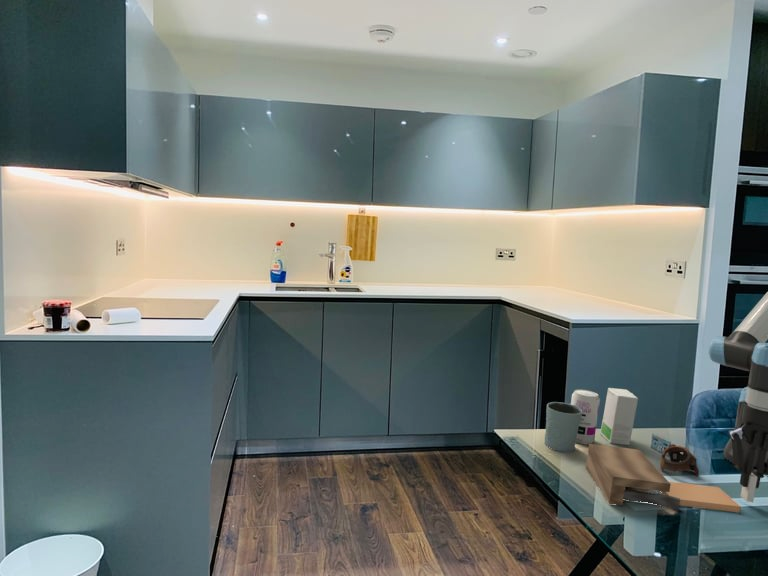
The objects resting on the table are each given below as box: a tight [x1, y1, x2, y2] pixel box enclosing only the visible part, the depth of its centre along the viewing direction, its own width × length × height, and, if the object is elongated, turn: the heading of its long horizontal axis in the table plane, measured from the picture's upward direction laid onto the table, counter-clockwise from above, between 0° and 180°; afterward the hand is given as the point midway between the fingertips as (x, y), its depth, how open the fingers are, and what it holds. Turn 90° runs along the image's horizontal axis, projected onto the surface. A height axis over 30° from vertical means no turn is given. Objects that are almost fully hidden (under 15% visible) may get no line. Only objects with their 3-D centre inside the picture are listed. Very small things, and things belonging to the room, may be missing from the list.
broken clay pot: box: [659, 443, 700, 477], centre depth 152 cm, size 12×10×8 cm
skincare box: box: [600, 387, 639, 446], centre depth 171 cm, size 8×7×16 cm
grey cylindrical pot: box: [544, 401, 582, 453], centre depth 161 cm, size 10×10×12 cm
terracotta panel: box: [660, 480, 742, 514], centre depth 136 cm, size 16×10×2 cm, turn 86°
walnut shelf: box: [585, 443, 681, 511], centre depth 137 cm, size 17×20×7 cm
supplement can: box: [570, 389, 601, 445], centre depth 168 cm, size 8×8×15 cm
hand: (746, 499), depth 135 cm, fingers closed
